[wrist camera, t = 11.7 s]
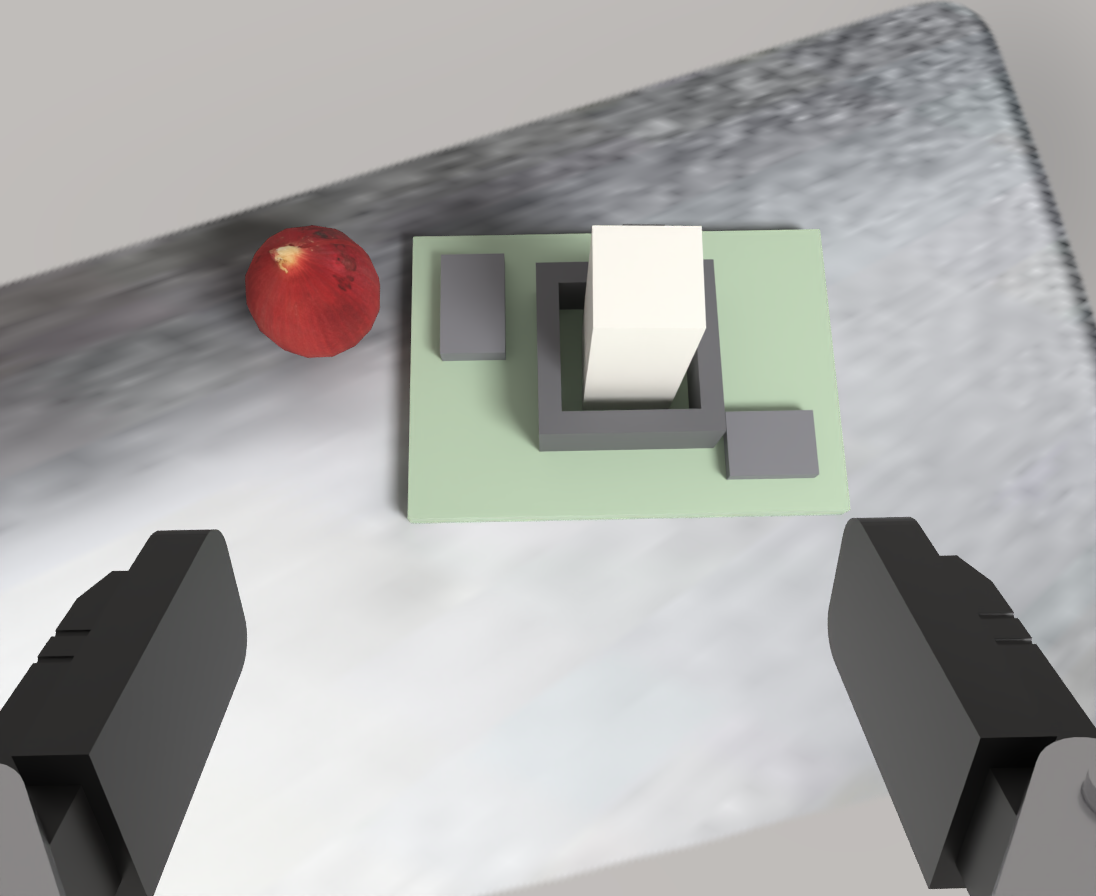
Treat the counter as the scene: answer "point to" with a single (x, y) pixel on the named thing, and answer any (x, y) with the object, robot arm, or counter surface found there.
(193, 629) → the robot arm
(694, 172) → the counter surface
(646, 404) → the plug
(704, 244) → the board
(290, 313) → the onion
